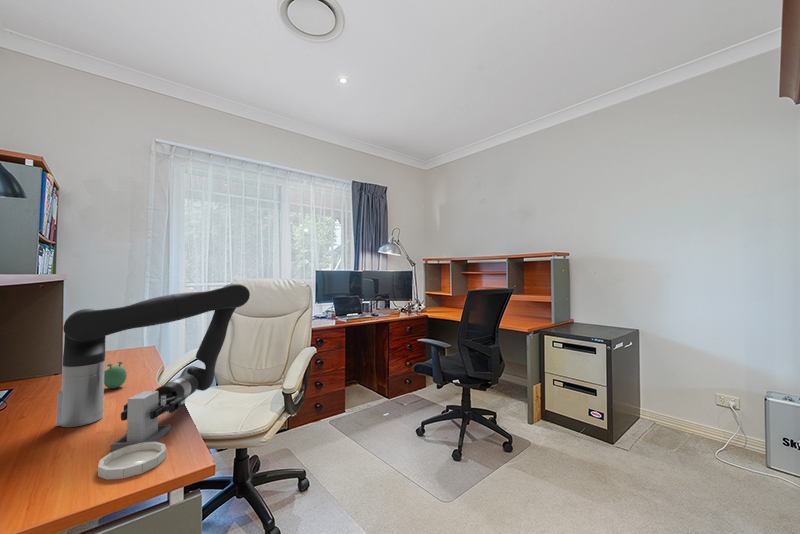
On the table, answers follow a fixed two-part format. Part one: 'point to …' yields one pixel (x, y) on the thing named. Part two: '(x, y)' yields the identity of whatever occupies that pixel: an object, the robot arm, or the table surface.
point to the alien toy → (114, 376)
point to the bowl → (131, 460)
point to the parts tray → (123, 441)
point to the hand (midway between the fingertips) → (137, 416)
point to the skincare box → (141, 416)
